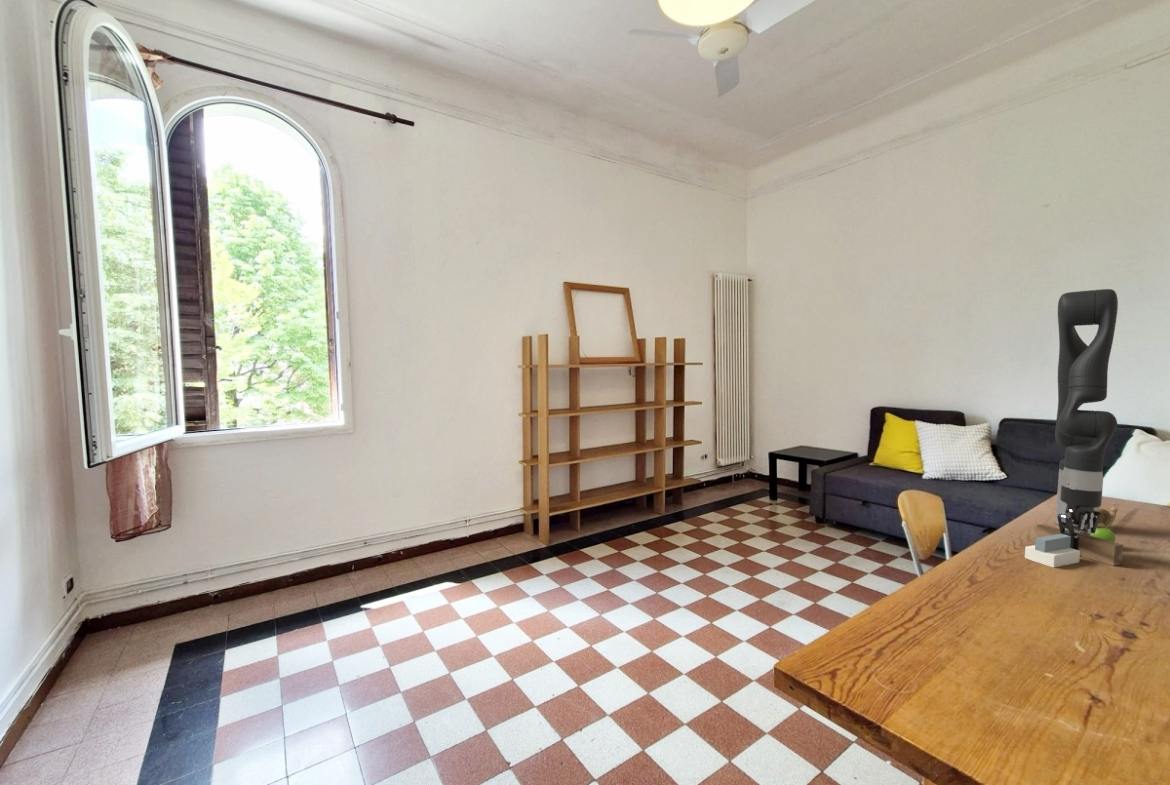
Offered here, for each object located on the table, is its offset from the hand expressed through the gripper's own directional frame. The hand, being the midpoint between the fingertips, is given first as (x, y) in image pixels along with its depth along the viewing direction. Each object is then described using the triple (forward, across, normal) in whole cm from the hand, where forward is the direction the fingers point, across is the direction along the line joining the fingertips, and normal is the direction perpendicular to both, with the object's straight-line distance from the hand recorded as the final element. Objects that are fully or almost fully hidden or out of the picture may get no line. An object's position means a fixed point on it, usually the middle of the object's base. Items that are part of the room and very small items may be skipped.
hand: (1076, 549), depth 127 cm
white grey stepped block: (+1, +12, +1) cm, 12 cm away
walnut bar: (+1, 0, 0) cm, 1 cm away
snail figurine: (+1, -13, -1) cm, 13 cm away
